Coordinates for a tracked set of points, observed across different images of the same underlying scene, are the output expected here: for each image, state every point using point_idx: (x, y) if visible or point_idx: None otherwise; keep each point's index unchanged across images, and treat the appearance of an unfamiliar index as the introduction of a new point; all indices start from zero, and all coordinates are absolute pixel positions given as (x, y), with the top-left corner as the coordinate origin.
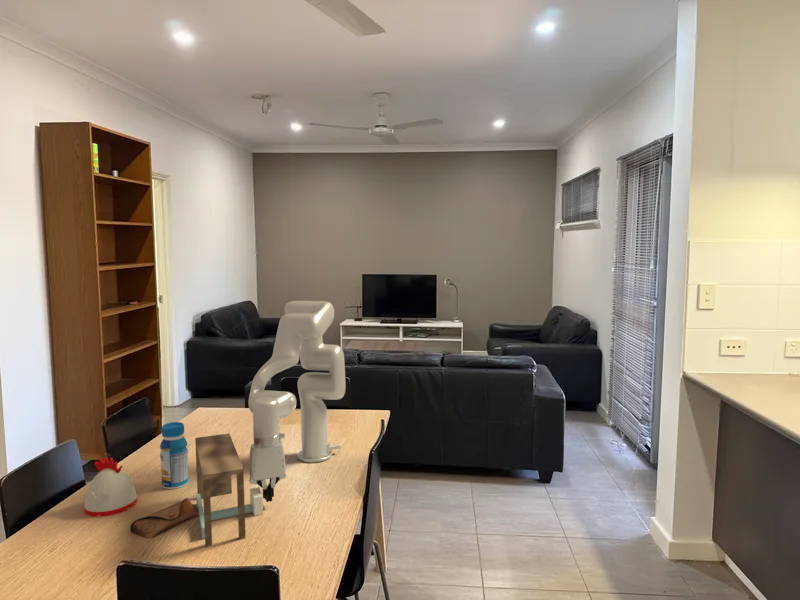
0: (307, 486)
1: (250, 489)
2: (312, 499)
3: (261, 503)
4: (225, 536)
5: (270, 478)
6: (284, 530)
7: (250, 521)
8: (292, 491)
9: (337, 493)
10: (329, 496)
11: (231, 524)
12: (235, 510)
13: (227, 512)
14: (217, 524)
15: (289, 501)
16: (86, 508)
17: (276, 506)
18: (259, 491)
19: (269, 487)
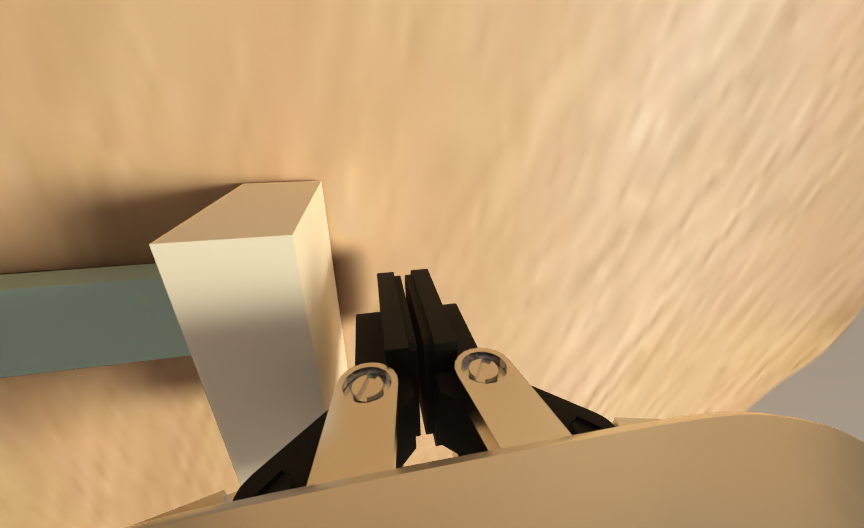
0: (779, 16)
1: (181, 305)
2: (676, 263)
3: None
4: (121, 523)
5: (495, 448)
6: None
7: None
8: (639, 64)
9: (819, 238)
10: (765, 259)
11: (128, 427)
12: (104, 346)
13: (25, 363)
14: (3, 411)
15: (550, 240)
16: None
17: (450, 282)
18: (312, 412)
19: (435, 417)
